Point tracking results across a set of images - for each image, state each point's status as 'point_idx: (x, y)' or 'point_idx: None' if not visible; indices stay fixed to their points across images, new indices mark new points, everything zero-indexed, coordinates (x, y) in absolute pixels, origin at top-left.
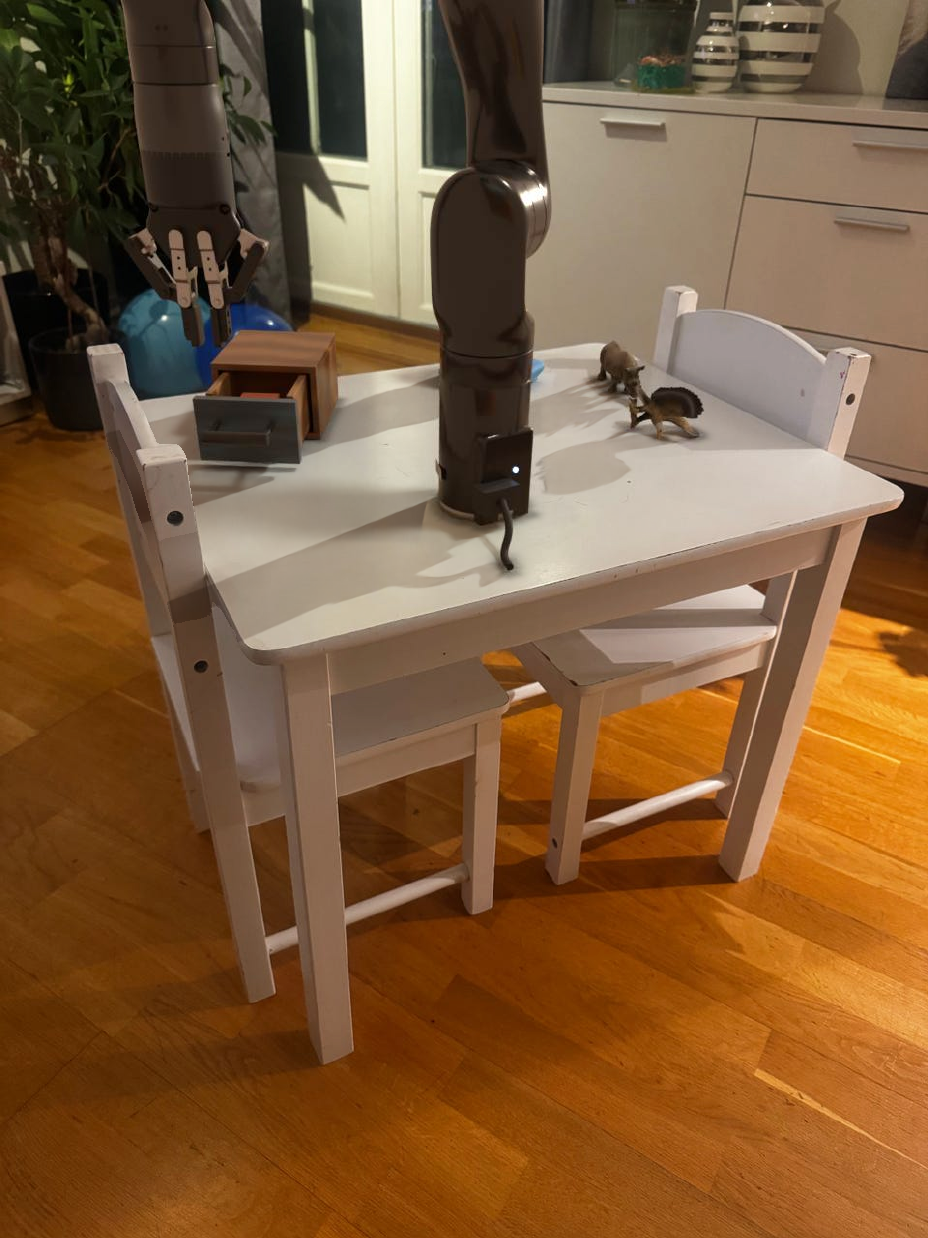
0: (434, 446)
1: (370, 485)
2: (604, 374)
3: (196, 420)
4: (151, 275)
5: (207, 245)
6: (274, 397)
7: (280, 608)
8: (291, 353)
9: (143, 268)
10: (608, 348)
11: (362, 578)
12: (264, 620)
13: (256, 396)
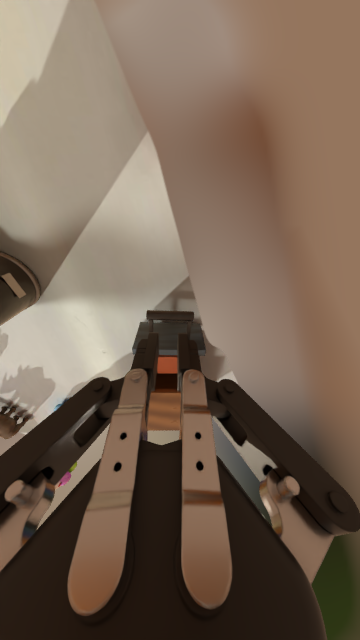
0: (76, 351)
1: (92, 304)
2: (23, 420)
3: (202, 339)
4: (258, 419)
5: (97, 520)
6: (158, 368)
7: (76, 63)
8: (155, 407)
9: (278, 434)
10: (7, 433)
11: (32, 143)
12: (81, 26)
13: (170, 368)
